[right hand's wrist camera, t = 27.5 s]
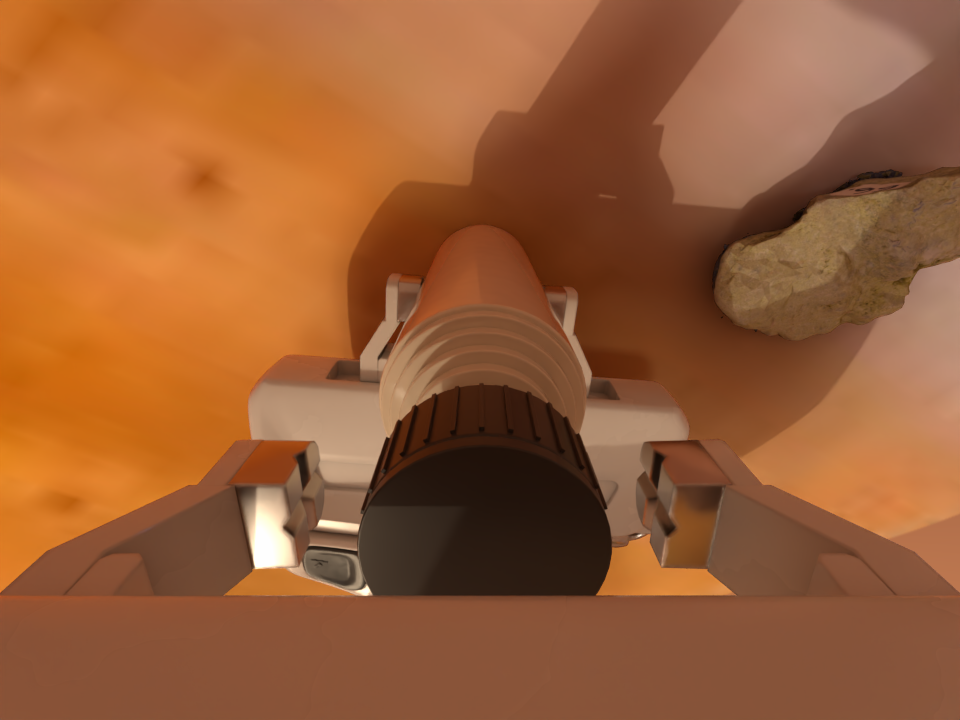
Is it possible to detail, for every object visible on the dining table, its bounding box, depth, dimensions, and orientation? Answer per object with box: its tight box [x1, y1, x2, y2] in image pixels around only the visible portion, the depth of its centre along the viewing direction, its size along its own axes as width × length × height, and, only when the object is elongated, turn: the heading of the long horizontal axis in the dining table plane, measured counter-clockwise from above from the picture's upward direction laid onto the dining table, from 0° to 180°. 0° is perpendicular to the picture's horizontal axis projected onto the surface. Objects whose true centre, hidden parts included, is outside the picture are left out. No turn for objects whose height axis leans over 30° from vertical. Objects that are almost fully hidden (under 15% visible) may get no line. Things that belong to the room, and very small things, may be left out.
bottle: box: [379, 225, 587, 438], centre depth 18 cm, size 5×5×20 cm
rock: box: [712, 167, 960, 341], centre depth 24 cm, size 11×6×10 cm
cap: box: [357, 383, 612, 596], centre depth 9 cm, size 4×4×2 cm
